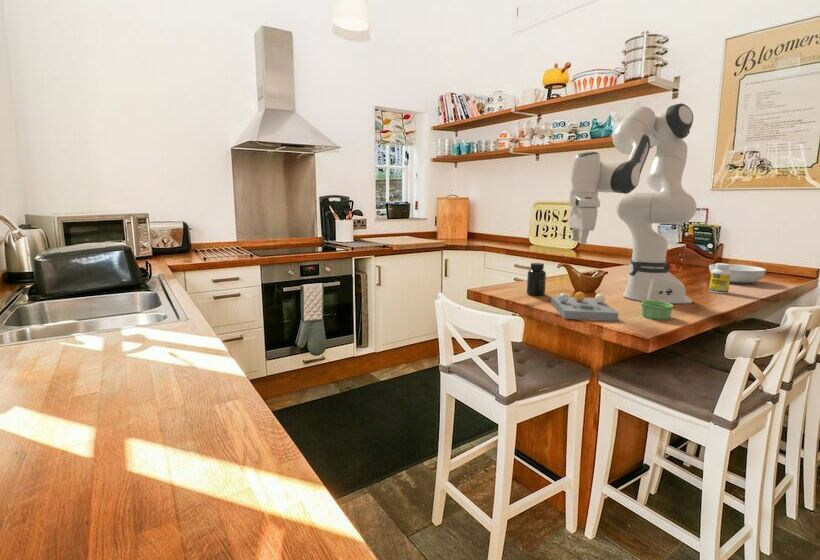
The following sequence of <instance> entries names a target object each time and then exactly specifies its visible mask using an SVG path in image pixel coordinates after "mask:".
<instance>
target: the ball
mask: <svg viewBox="0 0 820 560" xmlns="http://www.w3.org/2000/svg"><path fill="white" fill-rule="evenodd" d="M574 297H575V299H576V300H577V301H583V300H584V298H586V295H585V293H583V292H582V291H577V292H575V294H574Z"/></svg>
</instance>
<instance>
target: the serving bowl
mask: <svg viewBox="0 0 820 560" xmlns="http://www.w3.org/2000/svg"><path fill="white" fill-rule="evenodd" d="M729 264H730V267H729V268H728V270H729V271H730V272H731V278H730V284H731V283H732V284H738V285H739V284H740V285H743V284H750V283H755V282H757V281H758V282H759V280H761V279H763V278H764V276H765V274H766V272H767V269H766V268H763V267H759V266H755V265H746V264H736V263H735V264H734V263H729ZM715 265H716V263H714V264H713V263H712V264H709V266H708V268H709V270H708V271H709V273H710V274H711V273H712V270H714V269H716V267H715Z"/></svg>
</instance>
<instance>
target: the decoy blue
mask: <svg viewBox="0 0 820 560" xmlns="http://www.w3.org/2000/svg"><path fill="white" fill-rule="evenodd" d="M557 297H558V298H559V301H560V302H562V303H565V302H567V301H568V299H569V297H570V296H569V295H568V294H567V293H566V292H565V293H564V292H562V293H560V294H559V295H558V296H557Z"/></svg>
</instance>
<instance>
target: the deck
mask: <svg viewBox="0 0 820 560" xmlns="http://www.w3.org/2000/svg"><path fill="white" fill-rule="evenodd" d="M558 297H559V296H551V299H550V304H551V305H552V307H554V309H555V308H556V309H555V310H556V311H557V312H558V313H559V315H560V316H561V317H562V318H563V319H566V320H567V319H569V320H586V319H589V320H590V321H591V320H592V321H613V322H614V321H617V322H618V320H619V312H618V311H616V310H615V309H614V308H613V307H612V306H610V305H608V304H607V303H605V301H604V302H603V303H597V302H596V301H595V297H585V298H584V300H583V301H577V300H576V299H575V296H568V297H569V299H568V301H567V302H565V303H562V302H560V301H559V298H558Z"/></svg>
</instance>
